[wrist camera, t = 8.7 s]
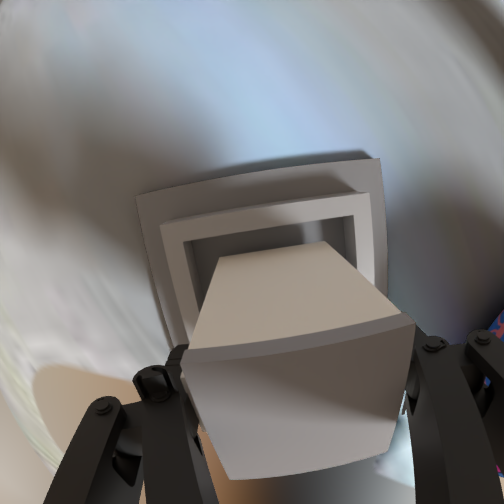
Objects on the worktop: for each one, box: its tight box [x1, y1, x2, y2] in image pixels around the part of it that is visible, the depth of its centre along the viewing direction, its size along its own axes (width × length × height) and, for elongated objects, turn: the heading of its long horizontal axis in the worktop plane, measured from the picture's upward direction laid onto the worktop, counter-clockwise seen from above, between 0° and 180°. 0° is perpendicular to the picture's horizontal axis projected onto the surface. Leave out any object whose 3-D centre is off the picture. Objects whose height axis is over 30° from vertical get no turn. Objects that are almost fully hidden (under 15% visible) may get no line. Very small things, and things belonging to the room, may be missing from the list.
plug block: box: [180, 241, 416, 480], centre depth 11 cm, size 6×6×9 cm
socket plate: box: [135, 158, 388, 348], centre depth 16 cm, size 14×14×3 cm
